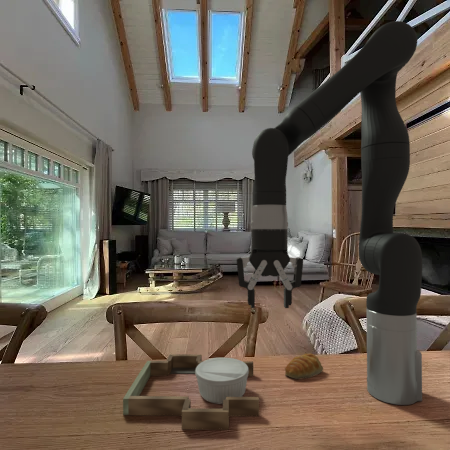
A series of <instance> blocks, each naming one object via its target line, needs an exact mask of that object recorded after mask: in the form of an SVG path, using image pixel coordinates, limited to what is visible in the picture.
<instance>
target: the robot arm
mask: <svg viewBox="0 0 450 450" xmlns="http://www.w3.org/2000/svg"><path fill="white" fill-rule="evenodd" d="M371 34H372V35H371V36H370V37H369V38H368V39H367V41H366V42H365V44H364V45H363V47H361V49H360V50H358V52H357V53H355V55H354V56H353V57H352V58H351V59H349V60H348V62H346V63H345V64H344V65H343V66H342V67H341V68H340V69H338V71H336V73H334V74H333V75H332V76H331V77H329V78H328V79H327V80H326V81H324V82H323V83H322V84H320V86H318V87H317V88H316V89H314V90H313V91H311V93H310V94H308V95H307V96H306V97H304V99H302V100H301V101H300V102H298V103H297V104H296V105H295V106H294V107H293V108H291V109H290V110H289V111H288V112H287V113H286V114H285V116H283V119H282V120H281V121H280V122H279V123H278V124H277V125H275V126H274V127H268V128H265V129H263V130H261V131H260V132H259V133H258V134H257V135H256V137H255V138H254V141H253V144H252V150H251V154H252V155H251V156H252V159H253V169H254V177H253V178H254V180H253V185H252V209H251V220H250V222H251V224H250V227H251V241H250V242H251V244H250V245H251V248H250V250H251V251H250V252H251V253H250V255H249V256H248V257H247V256H245V257H240V256H238V257H236V267H237V276H238V286H240V288H245V289H246V291H247V304H248V306H250V309H255V307H256V305H255V303H256V302H255V301H256V299H255V298H256V297H255V295H256V292H255V291H256V290H255V286H256V284H257V282H258V281H259V280H260V277H270V276H271V277H279V279H280V280H281V283H282V284H283V286H284V288H283V307H284V309H289V308H290V306H292V303H293V289H296V288H300V287H301V286H302V277H303V267H304V260H303V259H304V258H301V257H293V256H290V255H289V252H288V251H289V250H288V249H289V248H288V247H289V246H288V245H289V244H288V240H289V239H288V231H289V230H288V228H289V222H288V221H289V218H288V210H287V184H286V183H287V182H286V180H287V173H288V162H289V156H290V155H291V154H292V153H293V152H294V151H295V150H297V148H298V147H300V145H302V144H303V143H304V142H305V141H307V140H308V139H310V138H312V137H313V136H314V135H315V134H316V133H317V132H318V131H320V130H321V129H322V128H323V127H325V126H327V124H329V122H331V121H332V119H334V118H335V117H336V116H337V115H338V114H339V113H340V112H341V111H342V110H344V109H345V108H346V107H347V106H348V105H349V103H351V101H353V99H355V98H356V97H357V96H358V95H359V94H360V100H361V101H360V103H361V105H360V106H361V121H360V122H361V125H360V126H361V127H360V128H361V145H360V155H361V159H360V160H361V162H360V163H361V164H360V165H361V167H360V168H361V220H360V229H359V238H358V240H359V241H358V258H359V262H360V264H361V266H362V267H363V268H364V270H366V271H367V272H368V273H370V274H373V275H376V276H379V279H378V280H379V282H378V288H377V290H376V291H374V292H373V291H372V292H370V293H368V294H367V295H366V300H365V302H366V303H365V304H366V305H365V307H366V388H367V389H366V390H367V391H368V393H369V394H370V395H371V396H372V397H374V398H375V399H378V400H379V401H381V402H384V403H387V404H391V405H399V406H408V405H412V404H415V403H416V402H423V354H422V352H421V351H420V350H418V340H417V339H418V337H417V336H418V333H417V332H418V331H417V328H418V327H417V323H418V321H417V306H418V303H419V302H420V298H421V294H422V282H423V281H422V278H423V277H422V276H423V253H422V249H421V246H420V243H419V242H418V240H417V239H416V238H415V237H414V236H412V235H410V234H407V233H403V232H394V211H395V210H394V209H395V206H396V203H397V200H398V197H399V196H400V194H401V191H402V190H403V187H404V185H405V183H406V180H407V177H408V175H409V173H410V166H411V156H410V155H411V149H410V148H411V146H410V135H409V131H408V128H407V126H406V124H405V122H404V120H403V118H402V115H401V114H400V112H399V109H398V107H397V100H396V99H397V98H396V93H397V92H396V89H397V86H396V85H397V77H398V73H399V72H400V71H401V70H402V69H403V68H404V67H405V66H406V65H407V64H408V63H409V62H410V61H411V59H412V58H413V56H414V54H415V52H416V50H417V46H418V35H417V33H416V30H415V29H414V28H413V26H411V25H410V24H409V23H407V22H405V21H400V20H396V21H395V20H394V21H390V22H386V23H385V24H382V25H381V26H380V27H379V28H377V29H376V30H375V31H374V32H373V33H371ZM248 263H250V264H251V266H252V267H253V272H252V274H251V277H250V278H249V281H247V280H245V270H244V269H245V268H247V266H248ZM290 263H291V267H292V268H294V269H293V278H292V280H291V281H290V280H289V277H288V275H287V274H286V272H285V269H286V267H287V266H288V265H289V264H290Z"/></svg>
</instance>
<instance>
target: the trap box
mask: <svg viewBox="0 0 450 450" xmlns="http://www.w3.org/2000/svg"><path fill="white" fill-rule="evenodd" d="M202 356H203V355H202V354H178V353H177V354H176V353H175V354H172V353H171V354H170V353H169V355H168V357H167V359H166V360H147V361H146V363H145V364H144V365H143V367H142V369H141V370H140V372H139V373H138V374H137V376H136V378H135V379H134V381H133V382H132V384H131V385H130V387H129V389H128V390H127V392H126V394H125V395H124V396H123V398H122V415H123V416H171V417H172V416H176V417H177V416H179V417H181V430H215V431H218V430H221V431H222V430H223V431H224V430H225V431H228V430H229V428H230V425H229V424H230V423H229V422H230V421H229V419H230V417H259V416H260V398H259V396H242V397H226V400H223V404H222V408H198V407H197V408H196V407H195V408H192V407H191V401H192V399H191V398H189V395H188V396H187V395H186V396H185V395H184V396H183V395H182V396H180V395H179V396H177V395H176V396H175V395H170V396H169V395H168V396H167V395H141V394H142V392H143V390H144V388H145V387H146V385H147V383H148V381H149V379H150V377H151V376H157V377H159V376H161V377H162V376H163V377H165V376H166V377H168V376H169V375H171V374H172V375H174V374H175V375H196V374H195V370H196V367H197V366H198V365H199V364H200V363H201V362H203V361H204V360H203V359H202ZM241 361H242V360H241ZM242 362H244V363H245V364H246V365H247V366H248V369H249V374H248V376H247V377H254V360H253V361H252V360H251V361H248V360H247V361H242ZM229 431H230V430H229Z"/></svg>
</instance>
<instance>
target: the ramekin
mask: <svg viewBox="0 0 450 450" xmlns="http://www.w3.org/2000/svg"><path fill="white" fill-rule="evenodd" d="M202 361H203V362H201V363H200V364H199V365H198V366H197V367H196V370H195V374H194V375H195V377H196V380H197V386H198V392H199V394H200V396H201V397H202V398H203V399H204V400H205V401H207V402H210V403H212V404H217V405H223V400H226V397H244V394H245V393H246V388H247V381H248V377H249V376H248V374H249V369H248V366H247V365H246V364H245V363H244V362H242V360H240V359H237V358H233V357H213V358H209V359H206V360H202Z"/></svg>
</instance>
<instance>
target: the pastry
mask: <svg viewBox="0 0 450 450" xmlns="http://www.w3.org/2000/svg"><path fill="white" fill-rule="evenodd" d="M284 371H285V376H288V377H290V378H292V379H295V380H301V379H310V378H312V377H315V376H317V375H319V374H321V373H322V372H323V371H324V367H323V364H322V362H321V361H320V359H319V357H318V356H317V355H315V354H313V353H304V354H302V355H299V356H295V357H293V358H292V360H291V361H289V362H288V364H286V366H285V368H284Z"/></svg>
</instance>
